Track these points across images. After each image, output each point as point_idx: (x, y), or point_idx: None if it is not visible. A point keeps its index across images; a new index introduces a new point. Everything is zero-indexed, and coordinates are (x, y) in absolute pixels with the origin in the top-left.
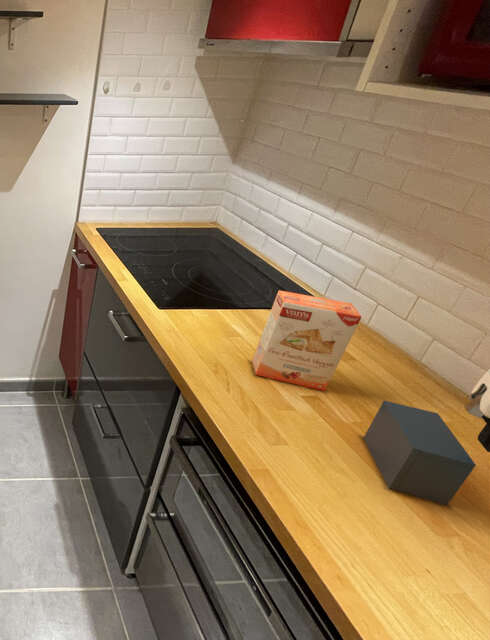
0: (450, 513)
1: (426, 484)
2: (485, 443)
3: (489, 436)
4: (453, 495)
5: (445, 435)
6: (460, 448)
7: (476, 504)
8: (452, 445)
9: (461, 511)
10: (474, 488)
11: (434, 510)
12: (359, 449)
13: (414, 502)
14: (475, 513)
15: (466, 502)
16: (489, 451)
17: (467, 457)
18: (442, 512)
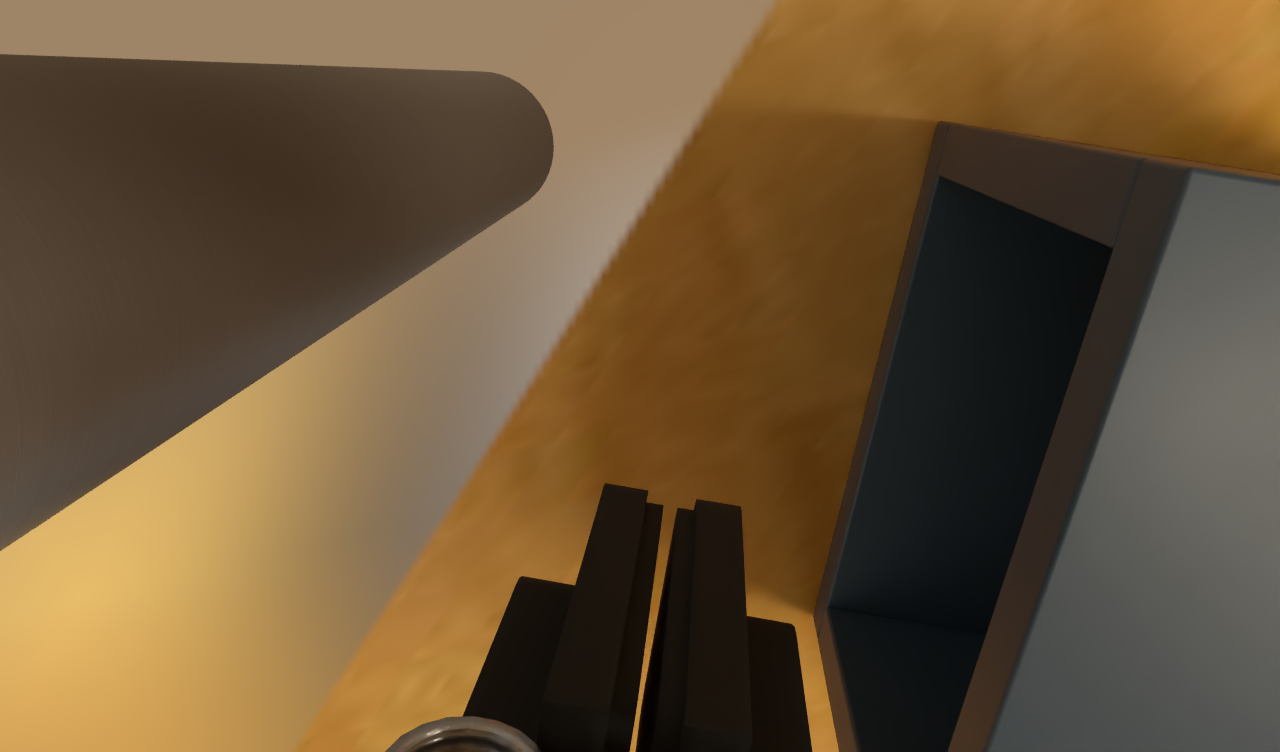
0: (965, 42)
1: (1215, 165)
2: (758, 618)
3: (788, 720)
4: (975, 129)
5: (1143, 685)
6: (1131, 479)
7: (680, 200)
8: (1214, 513)
9: (854, 91)
10: (589, 360)
11: (1085, 37)
12: None
13: (1203, 82)
14: (751, 101)
15: (746, 200)
16: (739, 506)
17: (1198, 305)
18: (1029, 33)
